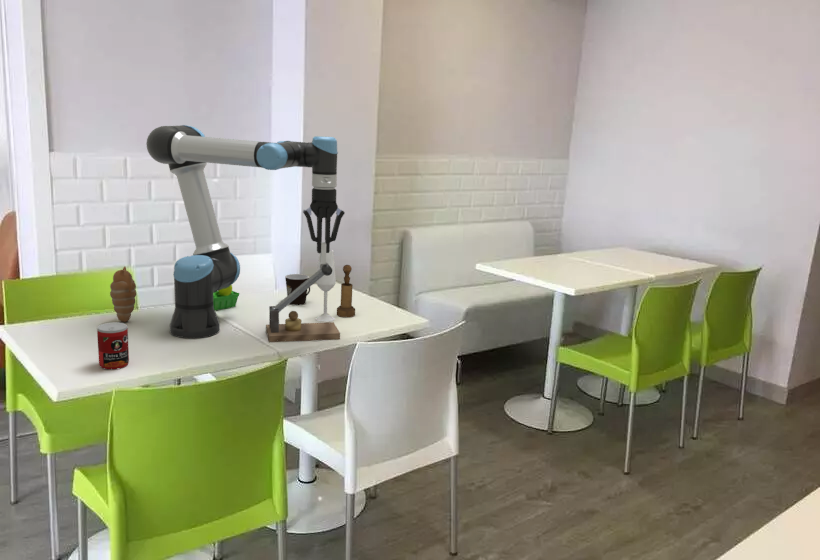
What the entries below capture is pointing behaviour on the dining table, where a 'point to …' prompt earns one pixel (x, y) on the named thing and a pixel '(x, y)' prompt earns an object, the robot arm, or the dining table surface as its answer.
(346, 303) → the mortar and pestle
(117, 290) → the brown ridged tall ovoid
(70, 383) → the dining table surface
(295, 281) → the coffee mug
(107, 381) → the dining table surface
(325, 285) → the champagne flute
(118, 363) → the canned food
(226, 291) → the fruit basket
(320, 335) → the nutcracker base
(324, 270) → the lever
